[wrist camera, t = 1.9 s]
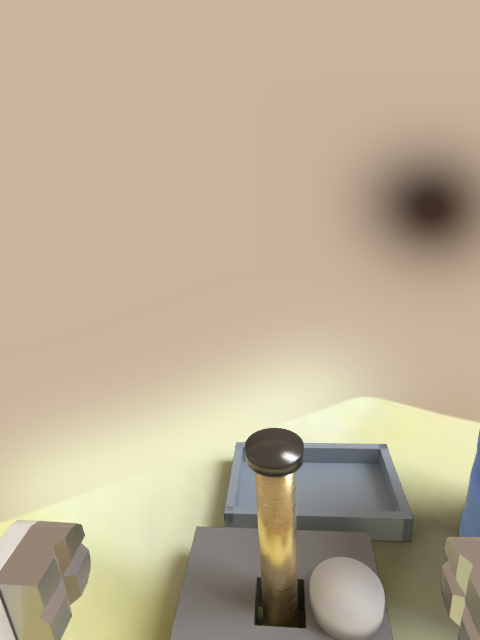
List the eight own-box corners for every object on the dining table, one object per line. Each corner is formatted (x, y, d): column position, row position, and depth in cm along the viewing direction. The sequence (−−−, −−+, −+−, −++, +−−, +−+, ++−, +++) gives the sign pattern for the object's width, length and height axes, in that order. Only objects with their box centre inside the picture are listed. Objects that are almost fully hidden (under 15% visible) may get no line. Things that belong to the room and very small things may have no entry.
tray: (225, 534, 38) (223, 513, 37) (237, 460, 47) (236, 442, 46) (410, 541, 36) (413, 519, 35) (384, 463, 45) (386, 444, 44)
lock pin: (255, 655, 28) (242, 464, 23) (258, 606, 31) (247, 427, 26) (306, 659, 28) (305, 465, 22) (304, 608, 31) (302, 428, 26)
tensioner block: (162, 728, 25) (152, 680, 23) (200, 553, 36) (194, 512, 35) (406, 751, 23) (413, 700, 22) (367, 560, 34) (369, 518, 33)
